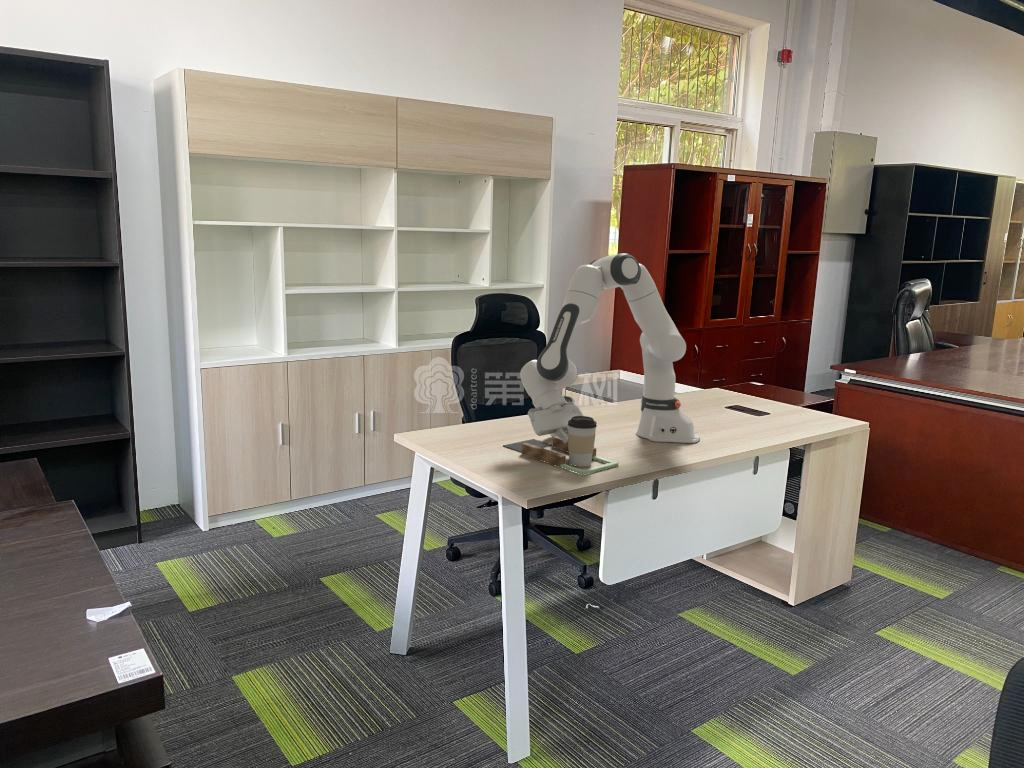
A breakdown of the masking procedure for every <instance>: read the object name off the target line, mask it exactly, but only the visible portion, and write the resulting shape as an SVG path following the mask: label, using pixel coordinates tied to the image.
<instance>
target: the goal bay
mask: <svg viewBox="0 0 1024 768" xmlns="http://www.w3.org/2000/svg"><path fill="white" fill-rule="evenodd" d="M593 459H595V460H594V461H596V460H598V461H597V462H599V461H601V462H600V463H602V462H605V463H608V464H605V463H604V464H601V465H598V466H594V467H590V468H586V469H580V468H579V467H578V468H577V467H576V466H573V465H570V464H569V465H568V464H567V463H565V464H561V467H563V468H566V469H568V470H571V471H574V472H577V473H579V474H578V475H580V474H582V475H581V476H585V475H584V474H587V475H589V474H588V473H591V474H593V473H592V472H594V473H597V472H596V471H598V472H600V471H599V470H602V471H604V470H603V469H605V470H607V469H606V468H609V469H611V468H610V467H613V468H615V467H614V466H616V467H619V462H616V461H615V460H611V459H607V458H604V457H601V456H599V455H596V456H593ZM563 468H562V469H563ZM566 469H565V470H566ZM568 470H567V471H568ZM571 471H570V472H571ZM574 472H573V473H574ZM577 473H576V474H577Z"/></svg>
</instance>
